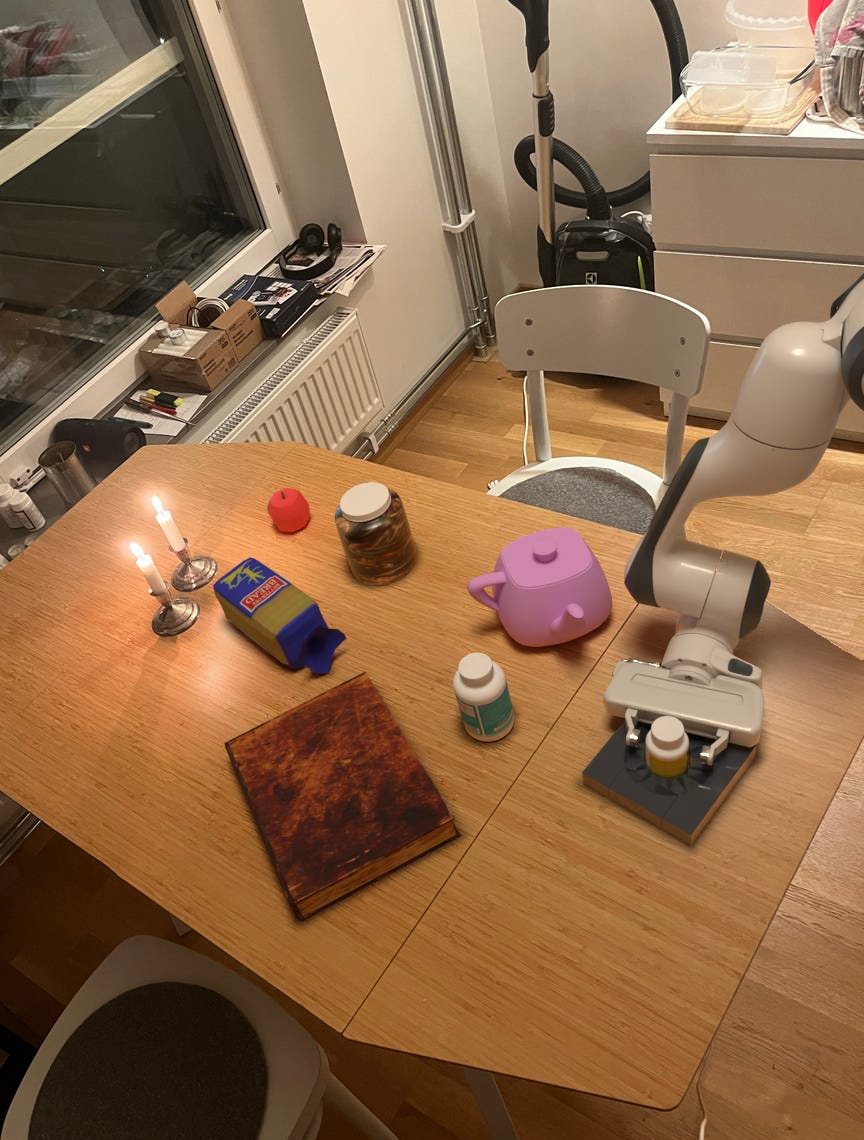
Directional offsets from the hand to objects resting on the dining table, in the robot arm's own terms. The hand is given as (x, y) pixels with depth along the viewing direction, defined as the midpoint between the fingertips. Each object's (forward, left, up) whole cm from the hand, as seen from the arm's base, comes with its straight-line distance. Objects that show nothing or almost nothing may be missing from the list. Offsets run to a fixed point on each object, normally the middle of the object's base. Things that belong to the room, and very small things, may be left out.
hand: (667, 752), depth 117 cm
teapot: (+29, -16, -6) cm, 34 cm away
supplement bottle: (+1, -1, -6) cm, 6 cm away
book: (+35, +28, -6) cm, 46 cm away
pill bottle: (+25, +6, -6) cm, 27 cm away
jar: (+62, -11, -6) cm, 64 cm away
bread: (+65, +11, -6) cm, 67 cm away
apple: (+85, -10, -6) cm, 86 cm away
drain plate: (0, -1, -6) cm, 6 cm away
